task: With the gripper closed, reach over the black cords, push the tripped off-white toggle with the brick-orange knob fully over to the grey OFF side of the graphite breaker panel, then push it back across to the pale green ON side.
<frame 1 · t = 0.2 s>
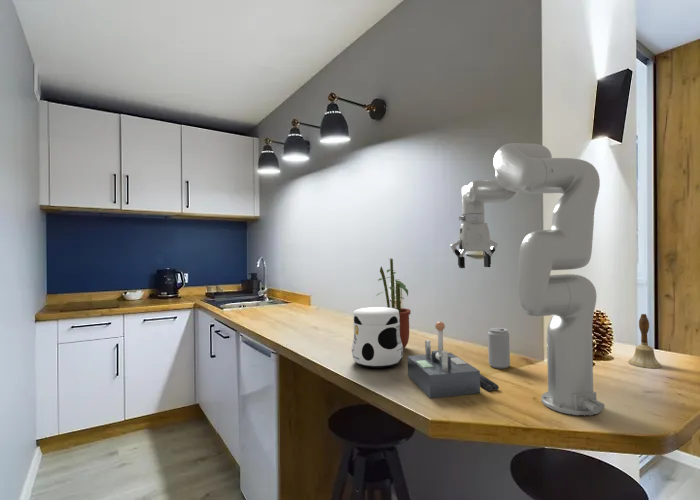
hand: (474, 267, 136), 31 cm above the counter, fingers open, 9 cm apart
breaker panel: (441, 383, 109), on the counter
cord bundle: (480, 380, 111), on the counter
potted plant: (391, 348, 149), on the counter
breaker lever: (440, 341, 109), point 12 cm above the counter, hinge at 0.0°
beverage can: (499, 366, 123), on the counter
hand bell: (644, 365, 121), on the counter
milk container: (377, 364, 130), on the counter
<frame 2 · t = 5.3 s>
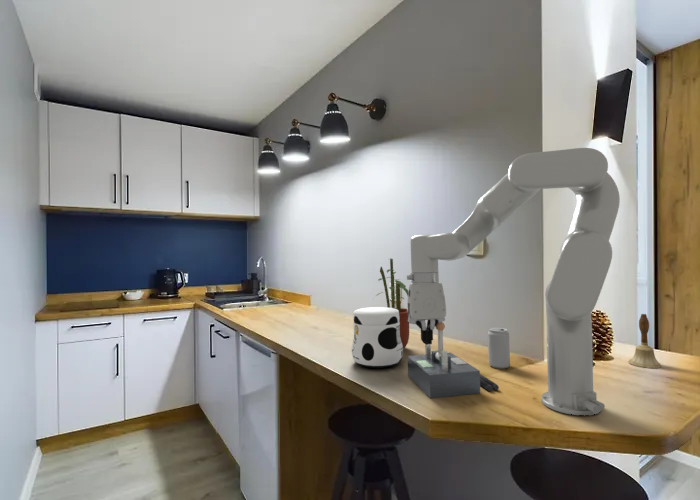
hand: (427, 343, 108), 12 cm above the counter, fingers closed
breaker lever: (440, 341, 109), point 12 cm above the counter, hinge at 0.1°, touching gripper
everything else where it was.
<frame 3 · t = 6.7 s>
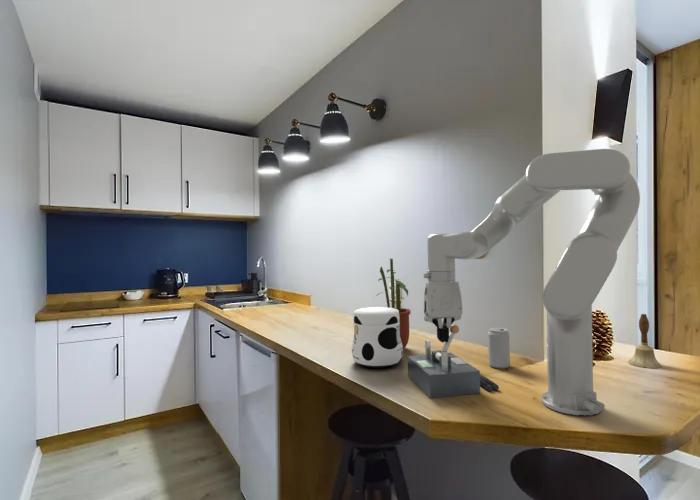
hand: (443, 341, 109), 12 cm above the counter, fingers closed
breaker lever: (447, 342, 110), point 12 cm above the counter, hinge at 29.0°, touching gripper
everything else where it was.
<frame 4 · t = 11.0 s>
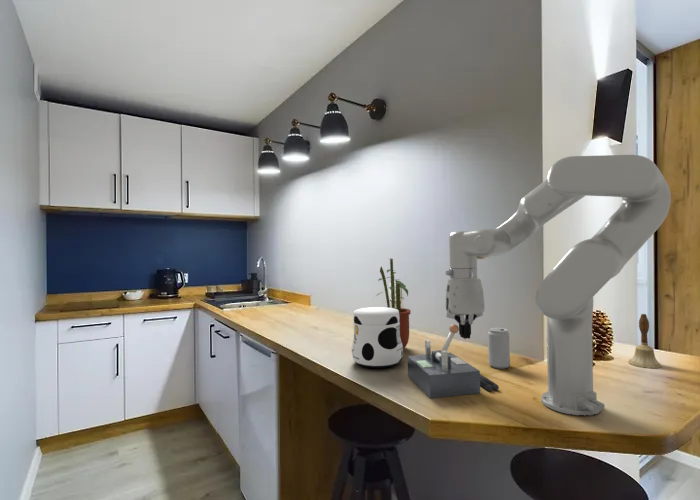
hand: (465, 337, 111), 13 cm above the counter, fingers closed
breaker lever: (447, 342, 110), point 12 cm above the counter, hinge at 27.9°, touching gripper
everything else where it was.
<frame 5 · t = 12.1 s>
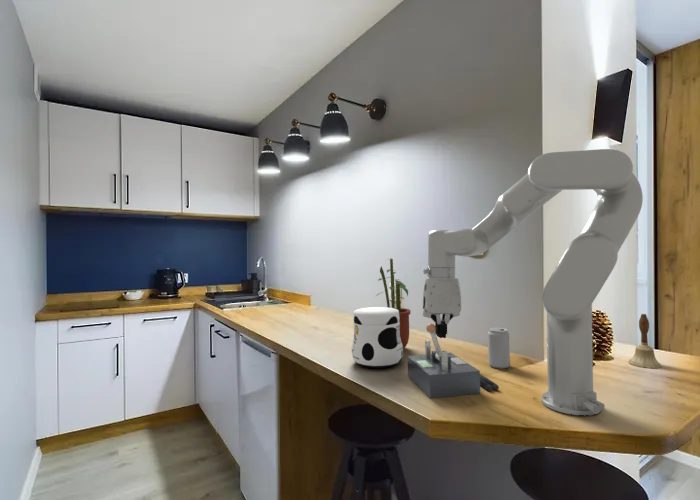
hand: (441, 336, 110), 13 cm above the counter, fingers closed
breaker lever: (435, 342, 109), point 12 cm above the counter, hinge at -17.7°, touching gripper
everything else where it was.
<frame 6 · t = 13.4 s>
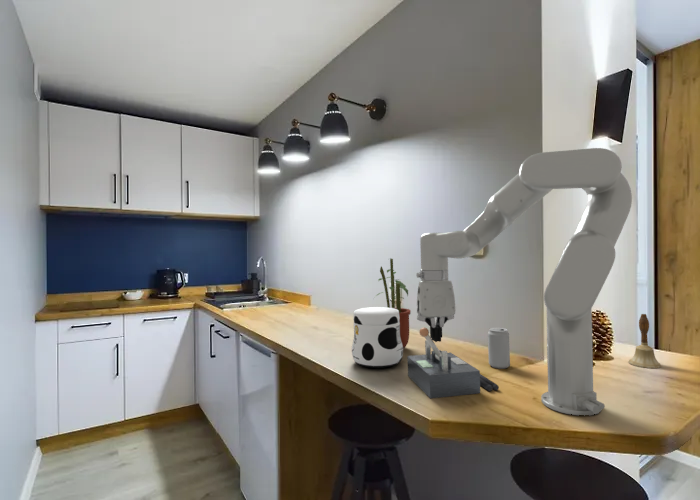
hand: (436, 340, 109), 12 cm above the counter, fingers closed
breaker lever: (432, 344, 109), point 11 cm above the counter, hinge at -32.2°
everything else where it was.
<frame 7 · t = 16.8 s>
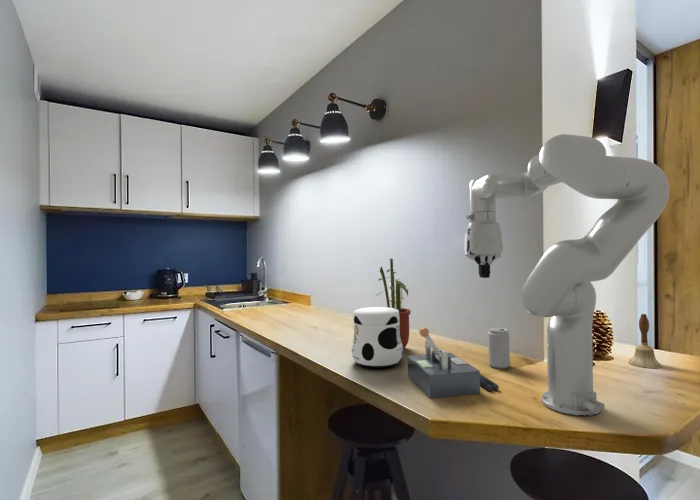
hand: (484, 277, 119), 29 cm above the counter, fingers closed
nothing on the counter moved.
at the end: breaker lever at -32° (first picture: +0°) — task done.
